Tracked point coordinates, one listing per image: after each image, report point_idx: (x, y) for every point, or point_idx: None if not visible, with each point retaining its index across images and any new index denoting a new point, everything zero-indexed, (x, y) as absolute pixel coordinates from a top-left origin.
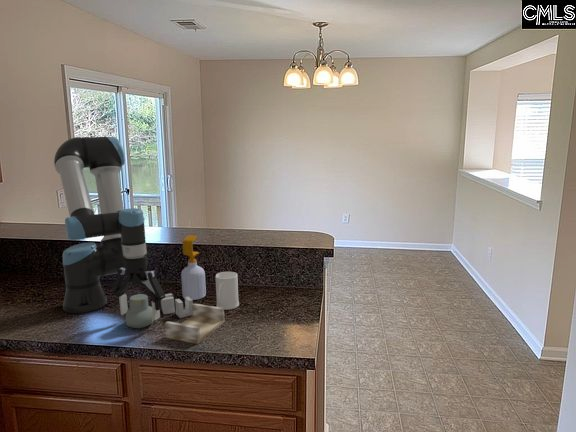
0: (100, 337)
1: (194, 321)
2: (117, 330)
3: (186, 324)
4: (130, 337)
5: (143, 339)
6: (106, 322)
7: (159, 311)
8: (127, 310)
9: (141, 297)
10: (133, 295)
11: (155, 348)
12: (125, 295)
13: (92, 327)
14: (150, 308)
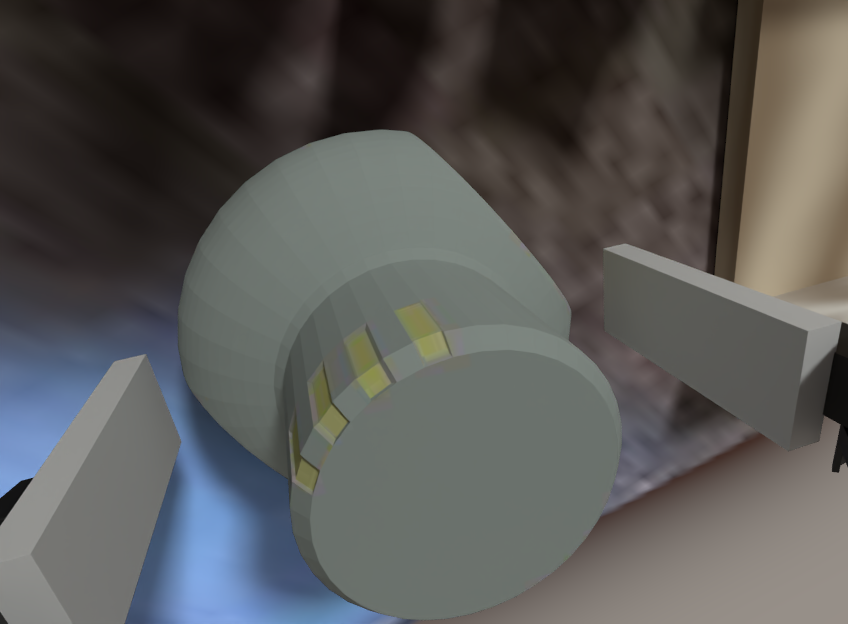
0: (283, 602)
1: (842, 14)
2: (287, 481)
3: (799, 112)
4: None
5: None
6: (3, 470)
7: (674, 266)
8: (270, 463)
9: (546, 475)
10: (310, 520)
11: (721, 448)
12: (52, 561)
13: None
14: (519, 271)
